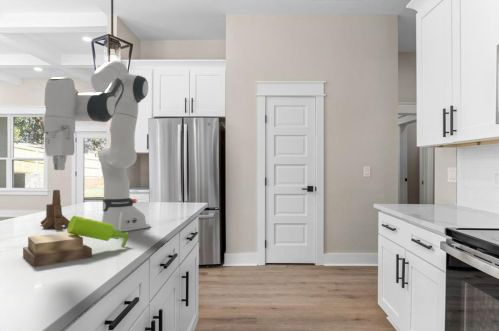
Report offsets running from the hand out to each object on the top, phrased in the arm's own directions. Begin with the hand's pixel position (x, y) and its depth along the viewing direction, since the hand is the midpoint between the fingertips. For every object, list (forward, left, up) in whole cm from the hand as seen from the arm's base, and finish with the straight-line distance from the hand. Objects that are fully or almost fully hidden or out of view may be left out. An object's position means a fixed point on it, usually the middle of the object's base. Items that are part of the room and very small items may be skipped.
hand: (59, 170), depth 110 cm
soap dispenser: (-3, 0, -18) cm, 19 cm away
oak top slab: (+1, 0, -25) cm, 25 cm away
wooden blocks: (-14, -62, -28) cm, 69 cm away
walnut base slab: (0, 0, -29) cm, 29 cm away
